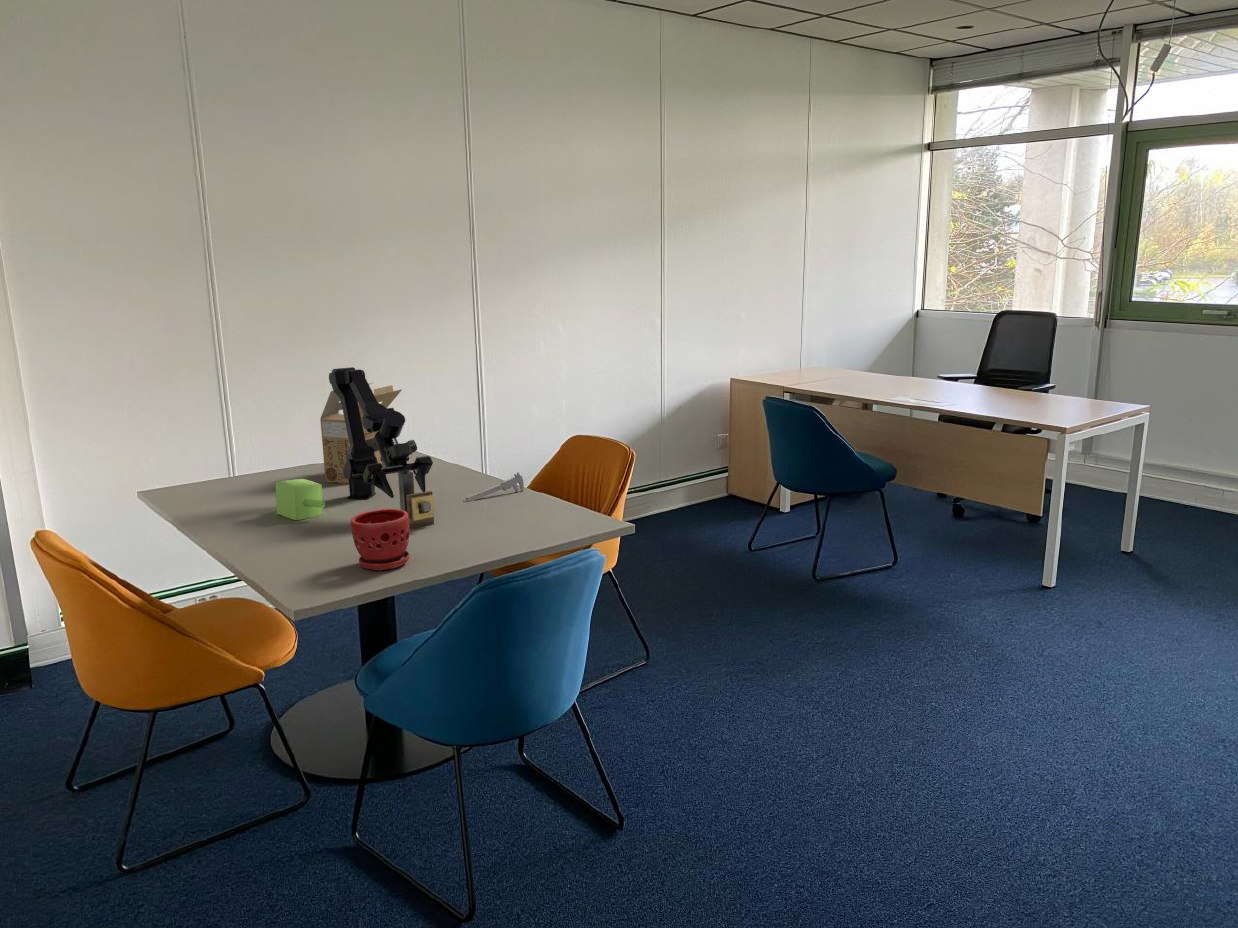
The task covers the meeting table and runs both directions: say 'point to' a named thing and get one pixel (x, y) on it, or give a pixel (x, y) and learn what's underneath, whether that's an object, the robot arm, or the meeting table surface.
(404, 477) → the steel shaft
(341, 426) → the box
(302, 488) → the gearbox
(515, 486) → the caliper
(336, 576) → the meeting table surface
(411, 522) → the plate
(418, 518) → the frame
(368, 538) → the plant pot
